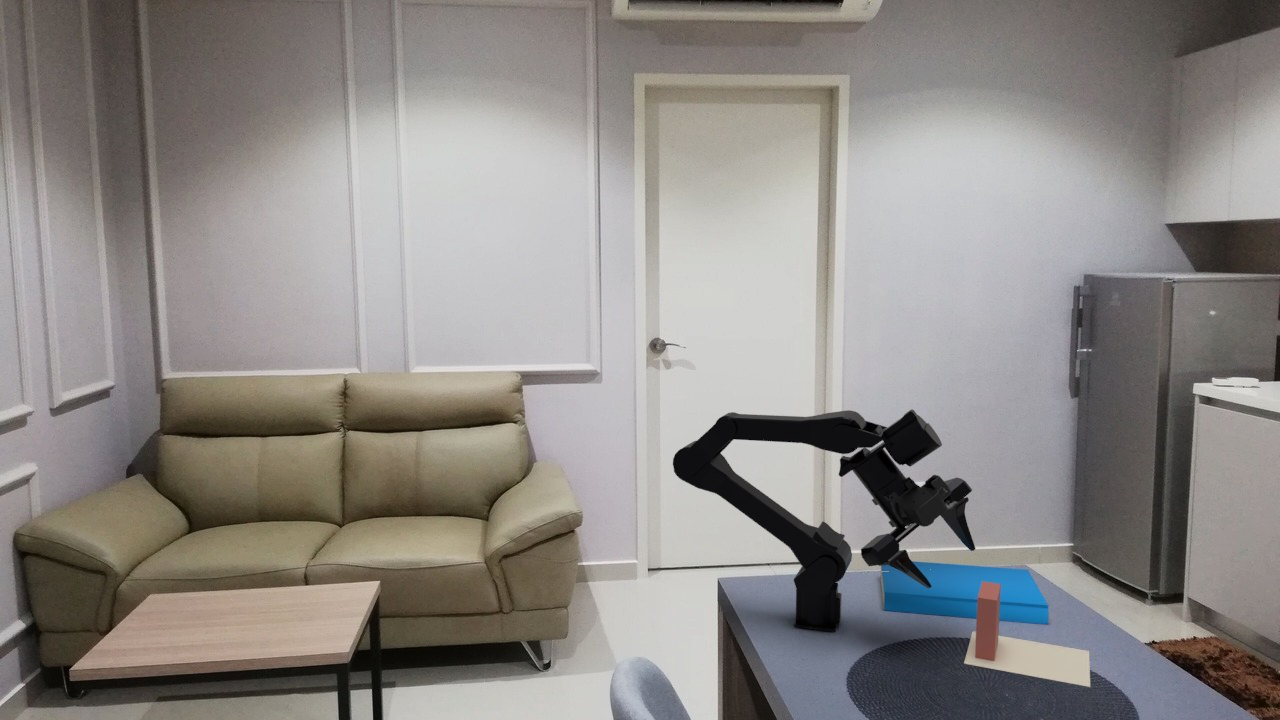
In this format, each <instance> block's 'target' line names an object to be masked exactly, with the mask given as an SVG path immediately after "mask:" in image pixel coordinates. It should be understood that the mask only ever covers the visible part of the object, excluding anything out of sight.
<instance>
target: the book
mask: <svg viewBox="0 0 1280 720" xmlns="http://www.w3.org/2000/svg"><path fill="white" fill-rule="evenodd" d="M911 561H912V560H911ZM912 562H913V563H914V564H915V565H916V567H917V568H918V569H919V570H920V571H921V572H922V573H923V575H924V576H925V577H926V578H927V580H928V581H929V583H930V584H931V586H932V587H931V588H926V587H925V586H923V585H922V584H920V583H919V582H917V581H915V580H914V579H912V578H911V577H909V576H908V575H906V574H904V573H903V572H901V571H899V570H897V569H895V568H893V567H891V566H889V565H882V566H880V584H881V592H882V602H883V603H882V605H883V611H886V612H899V613H909V614H911V613H912V614H922V615H931V616H932V615H933V616H934V615H935V616H945V617H958V618H969V619H977V601H978V594H979V591H980V587H981V584H982V581H984V582H990V583H997V584H1001V593H1000V614H999V621H1004V622H1014V623H1015V622H1017V623H1026V624H1040V625H1049V615H1050V613H1049V604H1048V602H1047V600H1046V598H1045V597H1044V594H1042V593H1043V592H1041V590H1040V588H1039V587H1038V584H1037V583H1036V580H1034V578H1033V576H1032V574H1031V571H1029V569H1024V568H1023V569H1022V568H1009V567H997V566H996V567H995V566H982V565H967V564H955V563H941V562H938V563H937V562H928V561H927V562H926V561H912ZM930 569H931V570H930ZM881 571H889V572H881Z"/></svg>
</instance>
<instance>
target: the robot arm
mask: <svg viewBox="0 0 1280 720" xmlns="http://www.w3.org/2000/svg"><path fill="white" fill-rule="evenodd" d="M734 440H736V441H737V440H738V441H740V440H741V441H755V442H756V441H758V442H775V443H776V442H777V443H793V444H803V445H804V444H805V445H808V446H811V447H814V448H817V449H819V450H823V451H827V452H832V453H836V454H841V455H843V456H841V457H840V458H839V462H840V463H839V465H840V466H839V472H838V476H839V477H841V478H842V477H844V476H845V475H847V474H849V473H850V472H852V473H854V474H855V476H856V477H857V478H858V480H859V482H861V484H862V485H863V486H864V489H866V490H867V491H868V493H869V495H870V496H872V499H871V502H873V504H874V506H879V507H880V509H881V510H882V511H883V513H884V514H885V515H886V516H887V518H888V519H889V521H888V523H889V525H890V526H891V528H895V529H893V530H892V531H890V533H885V534H880V535H876V536H875V537H874V538H873V539H871V540H870V541H869V542H867V544H865V545H864V546H863V547H861V549H860V555H861V558H862V559H863V561H864V562H865V563H866V564H867V566H868V567H873V566H878V567H881V566H882V565H889V566H891V567H893V568H895V569H897V570H899V571H901V572H903V573H904V574H906V575H908V576H909V577H911V578H912V579H914V580H915V581H917V582H919V583H920V584H922V585H923V586H925V587H926V588H931V587H932V586H931V584H930V583H929V581H928V580H927V578H926V577H925V576H924V575H923V573H922V572H921V571H920V570H919V569H918V568H917V567H916V565H915V564H914V563H913V562H912V560H911V559H910V556H909V554H908V552H907V549H900V543H901V541H902V540H904V539H905V538H906V537H908V536H909V535H910V534H911V533H912V532H914V531H915V530H916V529H917V528H919V527H929V526H931V525H932V524H933V523H934V522H935V520H936V519H937V518H938V517H941V518H942V520H943V521H944V522H945V523H946V524H947V525H948V527H949V528H950V529H951V530H952V532H953V534H955V535H956V536H957V538H958V539H959V541H961V542H962V544H963V545H964V546H965V547H966V548H967V549H968V550H969V551H971V552H974V551H975V550H976V546H975V541H974V540H973V537H972V534H971V531H970V528H969V525H968V522H967V516H966V505H967V503H969V500H970V499H969V497H968V495H969V494H970V493H971V492H972V491H973V488H971V486H970V485H969V484H968V482H967V481H966V480H964V479H963V478H960V477H955V478H951V479H947V480H943V478H942V477H941V475H937V474H933V475H932V476H931V477H929V478H928V479H927V480H926V481H925V482H924V484H922V486H920V485H918V484H917V483H916V482H915V481H914V480H913V479H912V478H911V477H910V476H908V477H906V476H905V474H904V473H903V472H902V471H901V469H900V468H899V467H898V466H897V465H896V463H897V464H898V465H899V466H904V465H907V466H908V467H912V466H914V465H915V464H917V463H919V462H920V461H922V459H924V458H925V457H927V456H929V455H930V454H931V453H933V452H935V451H936V450H937V449H939V448H941V447H942V446H943V443H942V441H941V439H940V437H939V436H938V433H937V431H935V430H934V428H933V427H932V425H931V424H930V423H929V422H927V421H925V419H923V417H921V415H919V414H918V413H917V412H916V411H915V410H914V409H910V410H909V411H907V412H906V413H904V415H902V417H901V418H900V419H897V420H896V421H895V422H893V423H892V424H891V425H889V426H884V425H881V424H877V423H875V422H871V421H868V420H866V419H865V418H864V417H863V416H862V415H861V413H859V412H857V411H855V410H849V409H848V410H841V411H834V412H827V413H822V414H816V415H810V416H796V415H773V414H772V415H770V414H746V413H744V414H743V413H737V412H733V411H732V412H728V413H725V414H724V415H722V416H721V417H719V418H718V419H717V420H716V422H715V423H714V425H712V427H710V428H709V429H708V430H707V431H706V432H705V433H704V434H703V435H701V436H700V437H699V438H698V439H697V440H694V441H691V442H690V443H689V444H686V445H685V446H683V447H682V448H680V449H678V450H677V452H676V453H675V454H674V457H673V458H672V467H673V472H674V474H675V475H676V477H678V479H680V480H681V481H683V482H685V483H687V484H689V485H691V486H693V487H695V488H697V489H699V490H703V491H706V492H710V493H713V494H715V495H718V496H719V497H721V498H722V499H723V500H725V501H726V502H727V503H728V504H730V505H731V506H733V507H734V508H736V510H738V511H739V512H741V513H742V514H744V515H745V516H746V517H748V518H749V519H750V520H751V521H753V522H755V524H757V525H758V526H760V527H761V528H763V529H764V530H765V531H766V532H768V533H769V534H771V535H772V536H774V537H775V538H776V539H777V540H779V541H780V542H782V544H784V545H786V546H787V547H788V548H789V549H790V550H791V552H792V553H793V555H794V557H795V558H796V560H797V561H798V563H799V565H801V567H800V569H799V570H798V572H797V573H796V574H795V576H794V578H793V583H794V585H795V618H794V622H793V627H795V628H801V629H808V630H818V631H824V632H825V631H826V632H836V631H837V629H838V628H837V627H838V625H840V623H841V621H842V620H841V619H842V598H843V597H842V596H843V595H842V593H841V592H839V583H838V582H840V581H841V580H842V579H843V578H844V576H845V574H846V573H847V570H848V568H849V566H850V564H851V562H852V559H853V552H852V548H851V545H850V544H849V542H847V541H846V540H845V537H846V536H845V534H843V533H839V532H838V531H835V530H834V529H833V528H832V527H831V526H830V525H829V524H828V523H827V522H825V521H822V522H821V523H820V524H819V526H817V527H816V526H813V525H810V524H807V523H806V522H804V521H803V520H801V519H799V517H796V515H795V514H793V513H792V512H790V511H789V510H787V509H786V508H785V507H783V506H781V505H780V504H779V503H777V502H776V501H775V500H773V499H772V498H771V497H769V496H768V495H766V494H765V493H764V492H763V491H761V490H760V489H758V488H757V487H756V486H754V485H753V484H751V483H750V482H749V481H747V480H746V479H744V478H743V477H742V476H740V475H739V474H738V473H736V472H735V471H734V470H733V468H732V467H731V465H730V464H729V462H728V460H727V459H726V457H725V456H724V455H723V454H722V452H723V451H724V450H726V448H727V447H728V446H729V445H730V444H731V443H732V442H733V441H734ZM881 442H882V443H881ZM879 443H880V444H879ZM878 444H879V445H878ZM876 445H877V446H876ZM875 446H876V447H875ZM860 448H861V449H860ZM869 448H872V449H871V450H870V449H869ZM857 449H860V450H859V451H857V452H856V453H854V452H855V451H856V450H857ZM885 450H886V451H887V452H886V451H885ZM851 453H854V454H852V455H851V456H846V455H848V454H851Z"/></svg>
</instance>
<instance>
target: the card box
mask: <svg viewBox="0 0 1280 720" xmlns="http://www.w3.org/2000/svg"><path fill="white" fill-rule="evenodd" d="M1000 593H1001V584H997V583H990V582H984V581H982V584H981V587H980V591H979V594H978V601H977V618H976V624H975V625H976V627H975V628H976V629H975V632H976V646H975V658H979V659H985V660H990V661H995V656H996V651H997V646H998V636H1000V634H999V633H1000V620H999V614H1000Z"/></svg>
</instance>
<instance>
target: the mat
mask: <svg viewBox="0 0 1280 720" xmlns="http://www.w3.org/2000/svg"><path fill="white" fill-rule="evenodd" d="M975 646H976V631H972V633H971V636H970V639H969V644H968V647H967V651H966V655H965V659H964V661H963V664H964V665H969V666H974V667H975V666H976V667H981V668H985V669H991V670H997V671H1002V672H1006V673H1012V674H1017V675H1023V676H1028V677H1029V676H1030V677H1033V678H1040V679H1045V680H1050V681H1056V682H1062V683H1064V684H1066V683H1067V684H1071V685H1076V686H1083V687H1087V688H1091V672H1090V671H1091V670H1090V669H1091V667H1090V665H1091V663H1090V651H1089V650H1084V649H1079V648H1073V647H1067V646H1061V645H1056V644H1055V645H1054V644H1051V643H1050V644H1049V643H1044V642H1038V641H1033V640H1027V639H1020V638H1015V637H1010V636H1002V635H998V646H997V651H996V656H995V661H990V660H985V659H979V658H975Z"/></svg>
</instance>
